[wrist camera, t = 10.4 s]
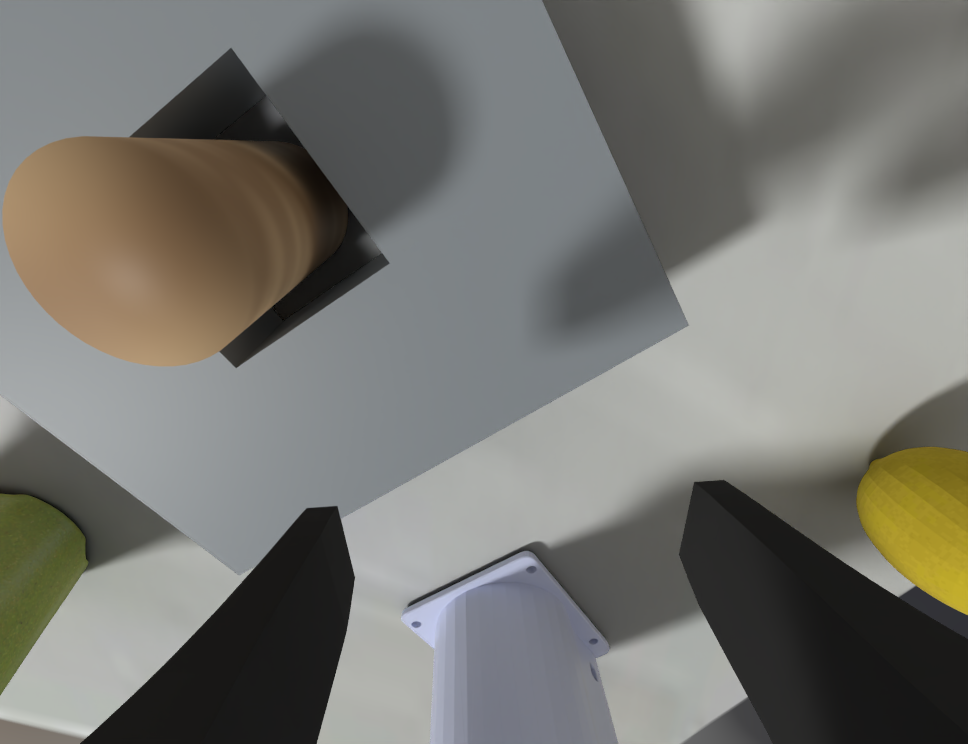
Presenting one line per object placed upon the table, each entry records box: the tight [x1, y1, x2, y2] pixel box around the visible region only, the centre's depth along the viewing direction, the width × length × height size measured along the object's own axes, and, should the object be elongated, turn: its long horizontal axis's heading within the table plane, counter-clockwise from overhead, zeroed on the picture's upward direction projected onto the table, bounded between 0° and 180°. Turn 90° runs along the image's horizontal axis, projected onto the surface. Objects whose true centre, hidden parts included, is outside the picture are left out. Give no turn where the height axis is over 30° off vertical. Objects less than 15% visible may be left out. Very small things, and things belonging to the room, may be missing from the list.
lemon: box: [856, 447, 968, 615], centre depth 18 cm, size 6×6×8 cm
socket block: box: [0, 0, 689, 575], centre depth 13 cm, size 18×18×4 cm
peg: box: [2, 136, 348, 366], centre depth 12 cm, size 4×4×8 cm
